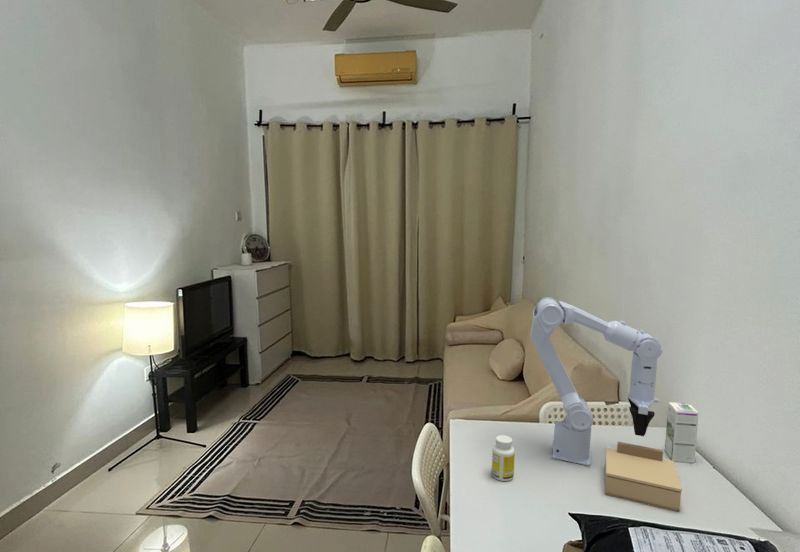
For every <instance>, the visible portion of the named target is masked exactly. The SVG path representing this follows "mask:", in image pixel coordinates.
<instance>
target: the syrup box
mask: <svg viewBox="0 0 800 552" xmlns="http://www.w3.org/2000/svg"><path fill="white" fill-rule="evenodd" d="M667 405H668V406H667V414H666V415H667V416H666V417H667V418H666V429H665V440H664V441H665V442H664V443H665V444H664V452H665V454H666V455H667V456H668V457H669V458H670V460H672V461H674V462H678V463H689V464H695V463H696V462H695V461H696V452H697V451H696V450H697V449H696V448H697V437H698V436H697V435H698V426H699V425H698V423H699V413H700V412H699V411H698V410H697V409H696V408H694V407H693V405H691V404H690V403H686V402H670V401H669V402H668V404H667Z"/></svg>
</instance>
